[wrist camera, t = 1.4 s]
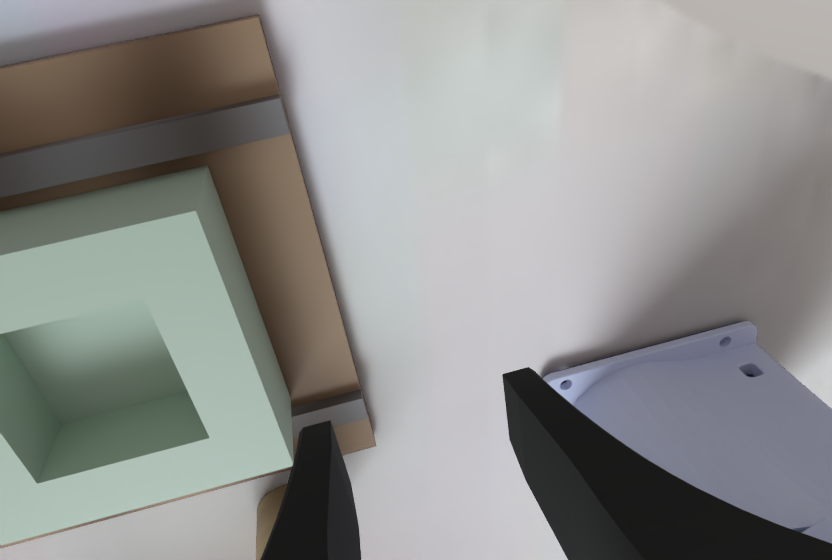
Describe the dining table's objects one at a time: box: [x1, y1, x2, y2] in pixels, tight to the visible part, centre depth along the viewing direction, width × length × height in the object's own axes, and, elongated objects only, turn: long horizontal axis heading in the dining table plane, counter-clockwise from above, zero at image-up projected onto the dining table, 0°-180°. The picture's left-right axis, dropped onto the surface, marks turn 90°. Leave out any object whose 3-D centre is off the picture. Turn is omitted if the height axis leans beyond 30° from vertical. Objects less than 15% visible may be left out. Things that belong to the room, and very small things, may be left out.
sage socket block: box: [0, 165, 294, 545], centre depth 18 cm, size 9×9×3 cm
